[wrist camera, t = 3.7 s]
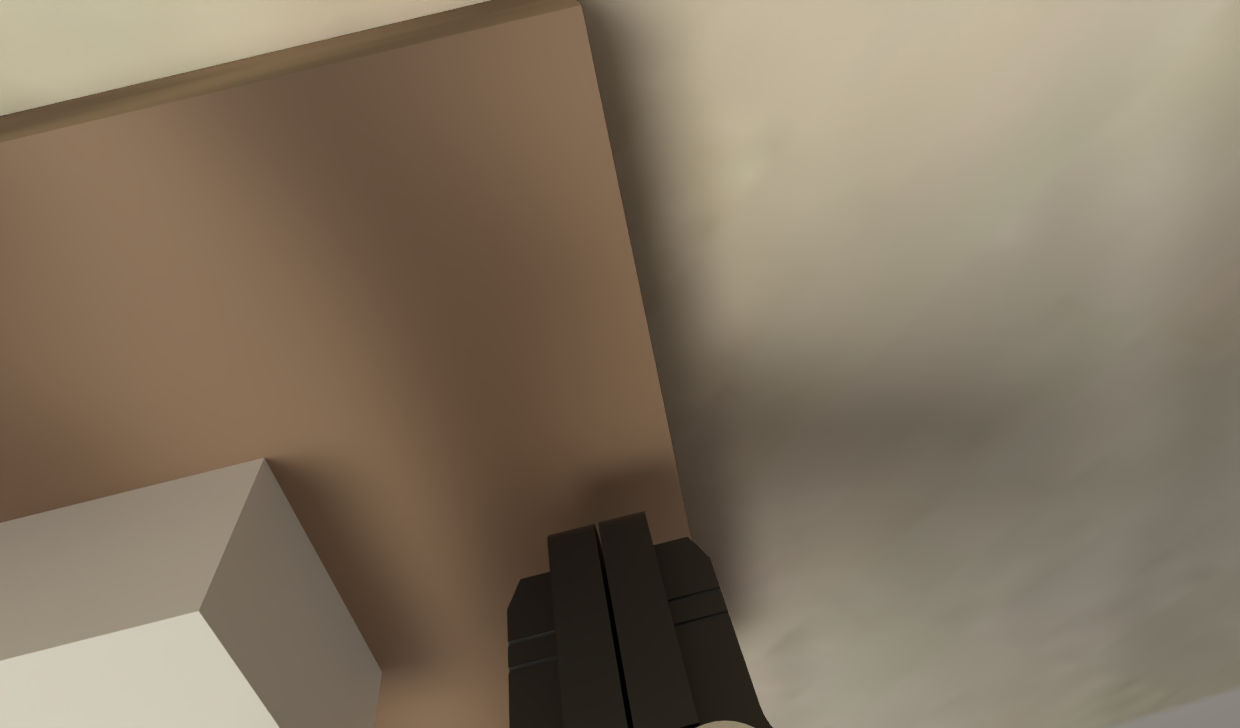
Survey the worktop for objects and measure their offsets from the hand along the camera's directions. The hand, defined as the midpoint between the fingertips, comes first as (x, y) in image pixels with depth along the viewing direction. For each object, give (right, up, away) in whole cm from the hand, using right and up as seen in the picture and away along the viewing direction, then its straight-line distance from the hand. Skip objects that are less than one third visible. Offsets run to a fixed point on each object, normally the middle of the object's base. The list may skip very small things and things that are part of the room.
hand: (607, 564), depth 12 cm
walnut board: (-8, +1, +4) cm, 9 cm away
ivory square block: (-7, -1, +1) cm, 7 cm away
